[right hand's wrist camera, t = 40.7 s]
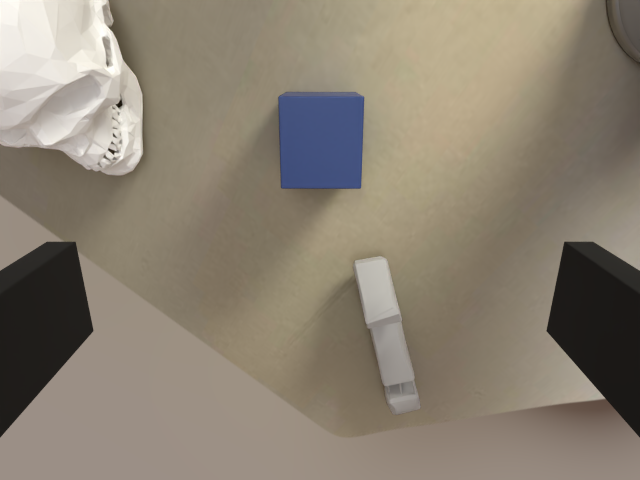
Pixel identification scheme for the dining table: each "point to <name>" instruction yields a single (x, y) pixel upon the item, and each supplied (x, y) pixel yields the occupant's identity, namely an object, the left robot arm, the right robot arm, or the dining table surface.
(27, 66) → the skull
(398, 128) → the dining table surface
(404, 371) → the white jointed bar
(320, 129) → the brick
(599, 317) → the right robot arm
